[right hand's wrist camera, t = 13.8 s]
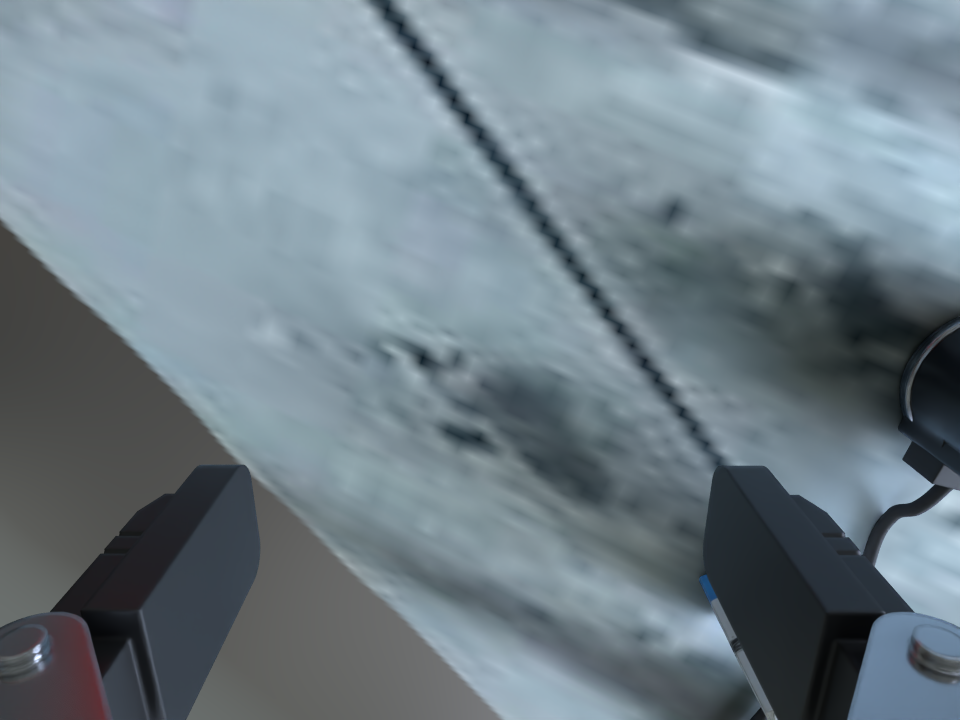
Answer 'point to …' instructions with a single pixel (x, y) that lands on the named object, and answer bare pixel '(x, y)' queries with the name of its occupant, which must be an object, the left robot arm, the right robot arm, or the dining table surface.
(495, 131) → the dining table surface
